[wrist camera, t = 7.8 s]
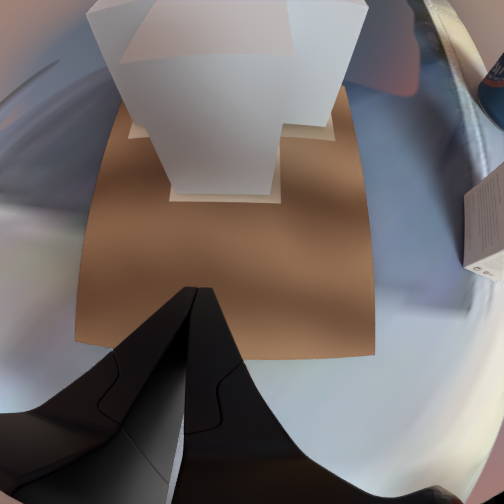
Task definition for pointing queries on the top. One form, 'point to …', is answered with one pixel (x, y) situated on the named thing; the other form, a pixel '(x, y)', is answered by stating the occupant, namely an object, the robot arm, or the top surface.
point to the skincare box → (485, 227)
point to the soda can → (493, 94)
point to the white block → (225, 79)
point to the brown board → (236, 246)
